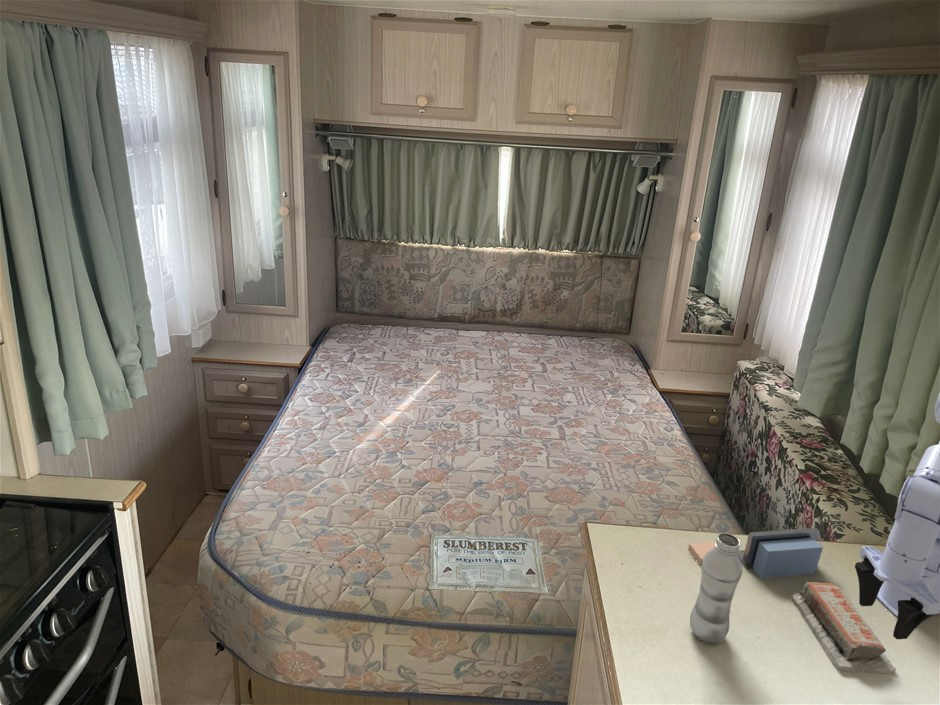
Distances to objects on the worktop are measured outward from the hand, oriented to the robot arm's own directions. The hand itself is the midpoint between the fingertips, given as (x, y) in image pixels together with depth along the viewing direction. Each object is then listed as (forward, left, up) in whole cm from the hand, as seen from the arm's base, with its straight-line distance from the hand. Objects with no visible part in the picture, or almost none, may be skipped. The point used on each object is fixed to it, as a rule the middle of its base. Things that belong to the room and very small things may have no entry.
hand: (882, 620), depth 112 cm
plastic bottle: (+24, -10, -10) cm, 28 cm away
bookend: (-1, -28, -10) cm, 30 cm away
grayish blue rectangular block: (-1, -24, -10) cm, 27 cm away
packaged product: (-1, -8, -11) cm, 13 cm away
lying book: (+12, -30, -11) cm, 34 cm away
